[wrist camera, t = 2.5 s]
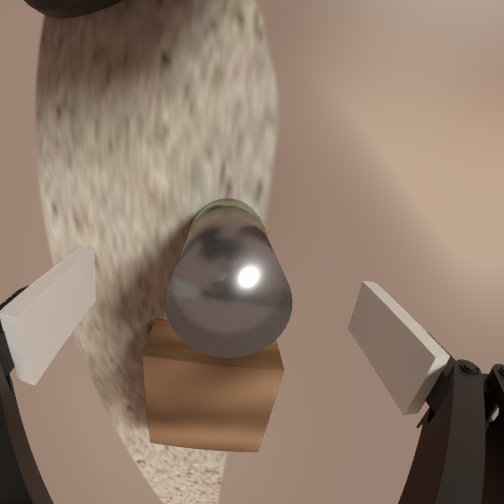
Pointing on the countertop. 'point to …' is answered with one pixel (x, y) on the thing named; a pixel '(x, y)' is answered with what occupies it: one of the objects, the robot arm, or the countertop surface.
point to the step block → (207, 394)
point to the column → (228, 284)
